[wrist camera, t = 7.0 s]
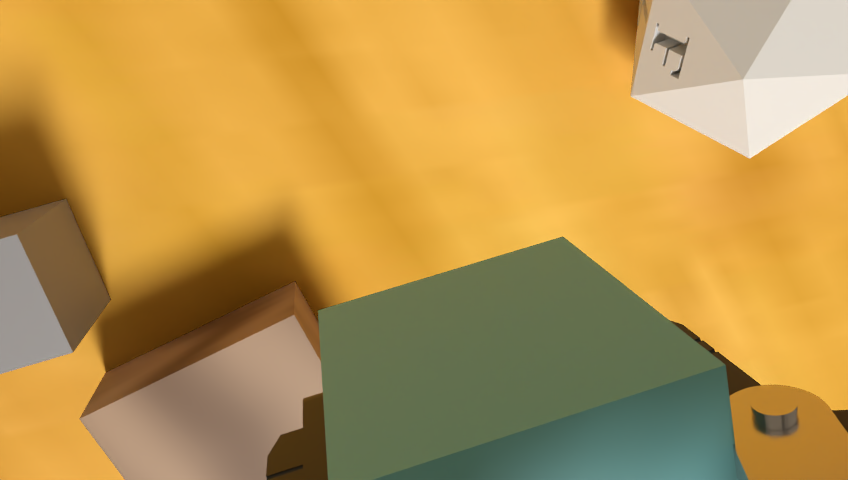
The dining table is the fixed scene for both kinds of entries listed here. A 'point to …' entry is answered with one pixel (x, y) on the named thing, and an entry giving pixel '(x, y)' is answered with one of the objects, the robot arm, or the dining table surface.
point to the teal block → (520, 379)
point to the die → (741, 65)
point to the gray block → (45, 286)
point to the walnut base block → (212, 395)
